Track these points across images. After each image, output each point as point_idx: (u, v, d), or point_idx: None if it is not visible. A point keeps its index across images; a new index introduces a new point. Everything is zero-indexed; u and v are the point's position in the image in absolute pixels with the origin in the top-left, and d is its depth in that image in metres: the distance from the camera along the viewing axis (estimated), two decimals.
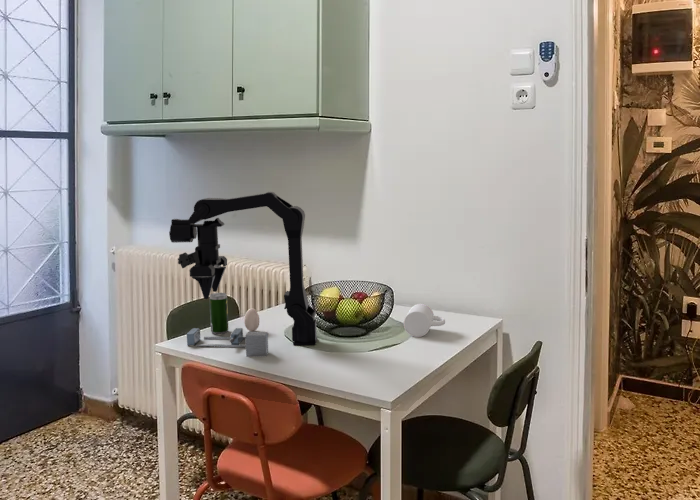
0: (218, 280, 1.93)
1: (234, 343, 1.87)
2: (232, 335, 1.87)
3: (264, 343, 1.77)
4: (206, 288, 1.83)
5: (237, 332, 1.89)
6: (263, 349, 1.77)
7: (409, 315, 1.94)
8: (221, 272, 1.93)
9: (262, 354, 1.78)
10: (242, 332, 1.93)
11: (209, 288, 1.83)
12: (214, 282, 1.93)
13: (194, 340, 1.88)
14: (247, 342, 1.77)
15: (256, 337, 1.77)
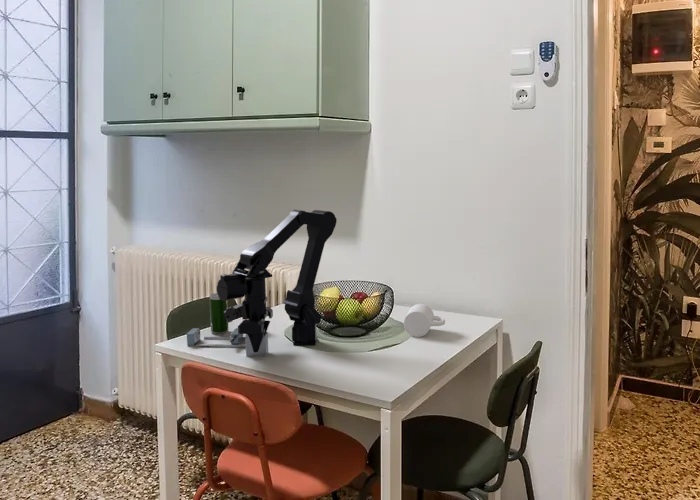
0: None
1: (234, 343, 1.87)
2: (232, 335, 1.87)
3: (264, 343, 1.77)
4: (256, 342, 1.76)
5: (237, 332, 1.89)
6: (263, 349, 1.77)
7: (409, 315, 1.94)
8: (265, 328, 1.81)
9: (262, 354, 1.78)
10: None
11: (260, 341, 1.76)
12: None
13: (194, 340, 1.88)
14: (247, 342, 1.77)
15: None
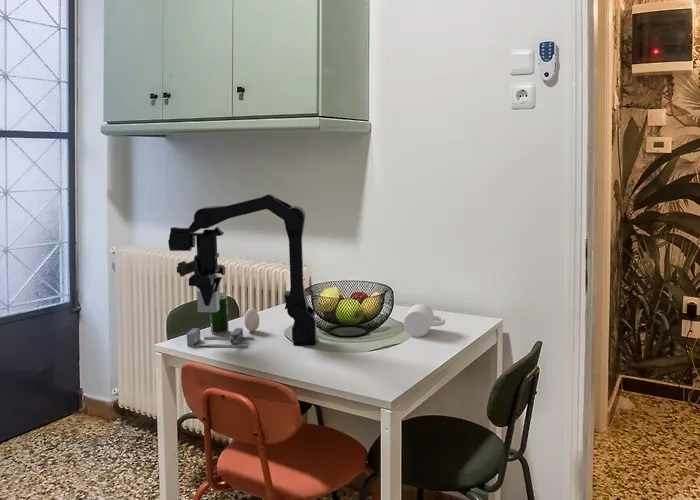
0: None
1: (234, 343, 1.87)
2: (232, 335, 1.87)
3: (215, 299, 1.86)
4: (207, 295, 1.85)
5: (237, 332, 1.89)
6: (214, 305, 1.86)
7: (409, 315, 1.94)
8: (217, 283, 1.89)
9: (213, 310, 1.87)
10: (242, 332, 1.93)
11: (210, 295, 1.85)
12: None
13: (194, 340, 1.88)
14: (199, 298, 1.86)
15: None
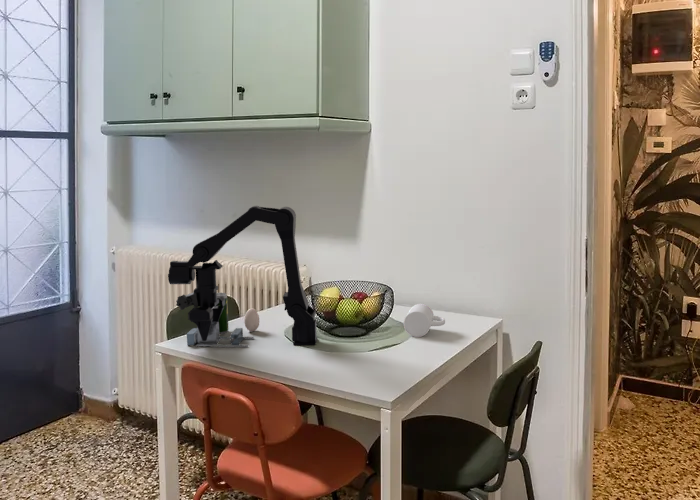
0: (216, 320, 1.95)
1: (234, 343, 1.87)
2: (232, 335, 1.87)
3: (215, 332, 1.88)
4: (204, 330, 1.84)
5: (237, 332, 1.89)
6: (214, 338, 1.89)
7: (409, 315, 1.94)
8: (219, 313, 1.94)
9: (213, 342, 1.89)
10: (242, 332, 1.93)
11: (207, 330, 1.84)
12: None
13: (194, 340, 1.88)
14: None
15: None
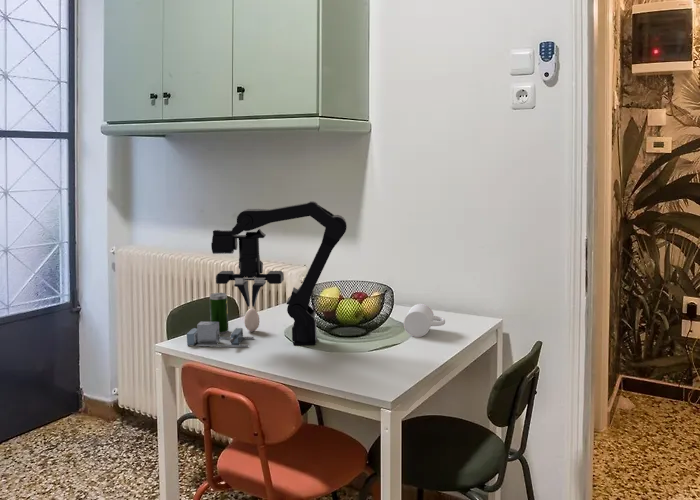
0: None
1: (234, 343, 1.87)
2: (232, 335, 1.87)
3: (215, 332, 1.88)
4: None
5: (237, 332, 1.89)
6: (214, 338, 1.89)
7: (409, 315, 1.94)
8: None
9: (213, 342, 1.89)
10: (242, 332, 1.93)
11: (243, 296, 1.87)
12: None
13: (194, 340, 1.88)
14: (199, 331, 1.89)
15: (207, 326, 1.88)
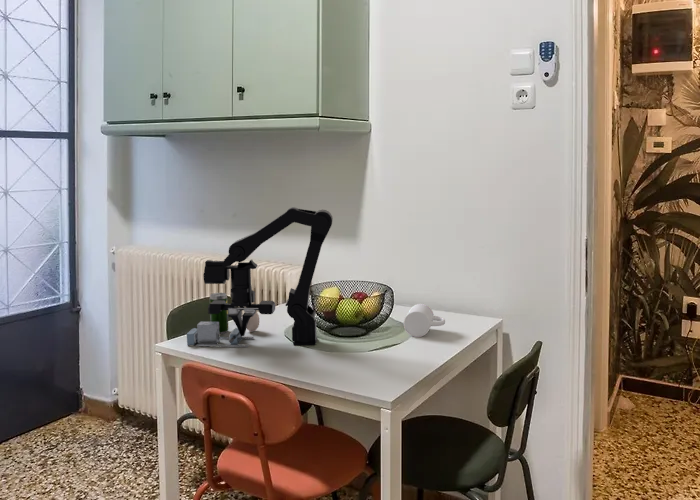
0: (242, 325, 1.88)
1: (233, 343, 1.87)
2: (231, 335, 1.87)
3: (215, 332, 1.88)
4: None
5: (236, 332, 1.89)
6: (214, 338, 1.89)
7: (409, 315, 1.94)
8: None
9: (213, 342, 1.89)
10: None
11: None
12: None
13: (194, 340, 1.88)
14: (199, 331, 1.89)
15: (207, 326, 1.88)
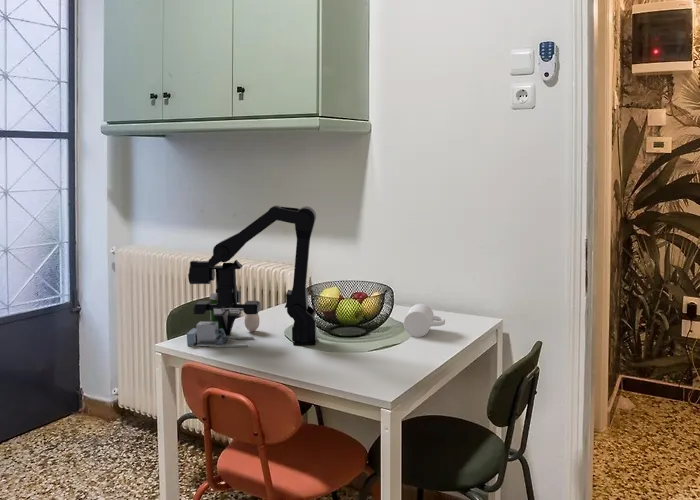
0: None
1: (218, 343, 1.87)
2: (216, 335, 1.87)
3: (214, 332, 1.88)
4: None
5: (221, 332, 1.89)
6: (213, 338, 1.89)
7: (409, 315, 1.94)
8: None
9: (212, 342, 1.89)
10: None
11: None
12: None
13: (194, 340, 1.88)
14: (198, 331, 1.89)
15: (207, 326, 1.88)
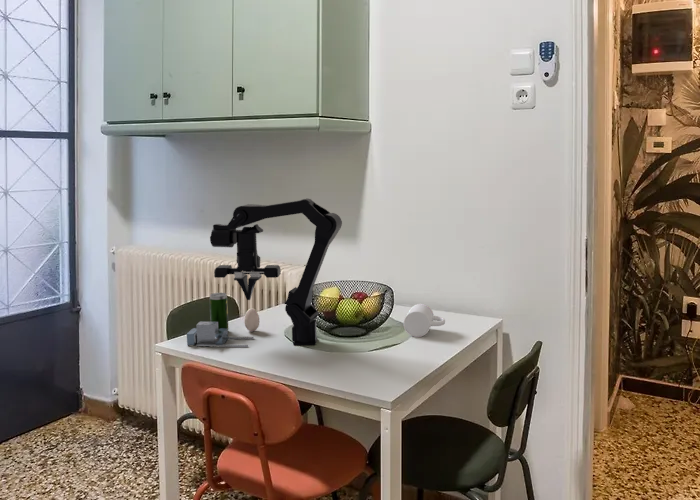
0: (248, 289, 1.91)
1: (218, 343, 1.87)
2: (216, 335, 1.87)
3: (214, 332, 1.88)
4: None
5: (221, 332, 1.89)
6: (213, 338, 1.89)
7: (409, 315, 1.94)
8: None
9: (212, 342, 1.89)
10: (227, 332, 1.93)
11: (243, 290, 1.90)
12: None
13: (194, 340, 1.88)
14: (198, 331, 1.89)
15: (207, 326, 1.88)
